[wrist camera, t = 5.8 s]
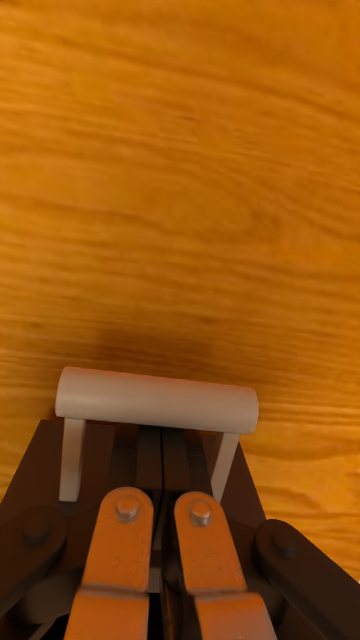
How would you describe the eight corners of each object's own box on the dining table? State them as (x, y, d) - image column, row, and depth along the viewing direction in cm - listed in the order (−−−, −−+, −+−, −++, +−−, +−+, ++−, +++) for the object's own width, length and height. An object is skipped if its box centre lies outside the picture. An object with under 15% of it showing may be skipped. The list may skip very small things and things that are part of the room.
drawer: (45, 315, 13) (-36, 411, 7) (265, 344, 14) (340, 446, 9) (34, 572, 19) (-18, 745, 13) (196, 577, 20) (215, 737, 14)
